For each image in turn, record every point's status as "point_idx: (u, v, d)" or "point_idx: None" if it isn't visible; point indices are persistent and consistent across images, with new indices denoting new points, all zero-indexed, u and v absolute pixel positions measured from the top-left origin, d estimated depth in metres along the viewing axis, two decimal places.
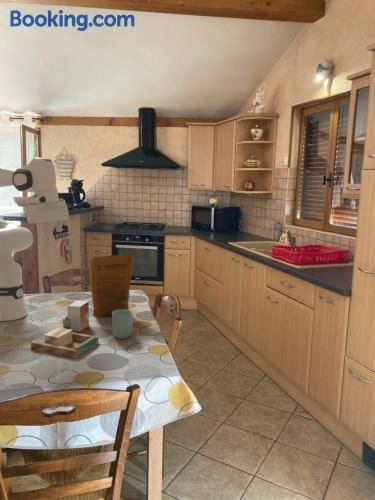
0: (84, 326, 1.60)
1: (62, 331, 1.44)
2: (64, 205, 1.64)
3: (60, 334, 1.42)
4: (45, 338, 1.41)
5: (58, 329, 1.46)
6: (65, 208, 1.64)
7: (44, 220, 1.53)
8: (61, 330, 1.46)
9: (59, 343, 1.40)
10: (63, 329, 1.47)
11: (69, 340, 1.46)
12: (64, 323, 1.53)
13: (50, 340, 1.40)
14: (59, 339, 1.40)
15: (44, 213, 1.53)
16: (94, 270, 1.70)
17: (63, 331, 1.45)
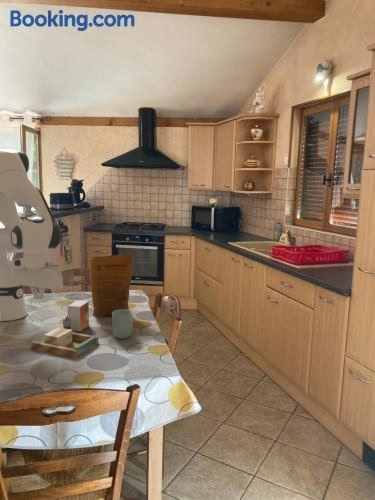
0: (84, 326, 1.60)
1: (62, 331, 1.44)
2: (51, 272, 1.39)
3: (60, 334, 1.42)
4: (45, 338, 1.41)
5: (58, 329, 1.46)
6: (52, 277, 1.39)
7: (24, 284, 1.44)
8: (61, 330, 1.46)
9: (59, 343, 1.40)
10: (63, 329, 1.47)
11: (69, 340, 1.46)
12: (64, 323, 1.53)
13: (50, 340, 1.40)
14: (59, 339, 1.40)
15: (25, 277, 1.43)
16: (94, 270, 1.70)
17: (63, 331, 1.45)
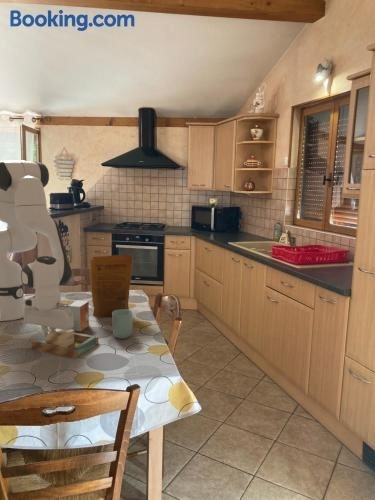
0: (84, 326, 1.60)
1: (64, 332, 1.44)
2: (62, 313, 1.39)
3: (62, 334, 1.41)
4: (47, 338, 1.41)
5: (60, 329, 1.46)
6: (63, 317, 1.39)
7: (35, 323, 1.45)
8: (63, 330, 1.46)
9: (61, 343, 1.40)
10: None
11: (71, 340, 1.45)
12: None
13: (52, 340, 1.40)
14: (61, 339, 1.40)
15: (35, 316, 1.44)
16: (94, 270, 1.70)
17: (65, 331, 1.45)
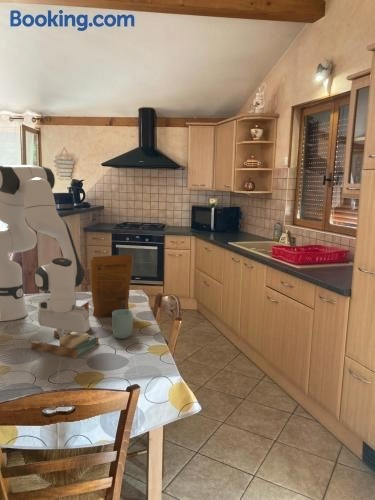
0: None
1: (78, 335, 1.41)
2: (78, 316, 1.37)
3: (75, 338, 1.38)
4: (60, 341, 1.38)
5: (75, 332, 1.43)
6: (79, 320, 1.37)
7: (50, 326, 1.42)
8: (77, 333, 1.43)
9: None
10: None
11: None
12: None
13: (65, 343, 1.37)
14: (74, 343, 1.37)
15: (50, 319, 1.42)
16: (94, 270, 1.70)
17: (79, 334, 1.41)
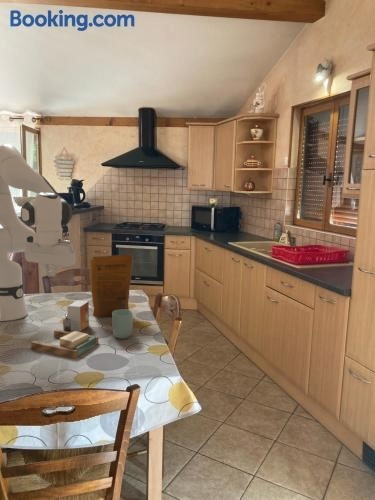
0: (84, 326, 1.60)
1: (78, 336, 1.41)
2: (63, 249, 1.37)
3: (75, 338, 1.38)
4: (60, 342, 1.38)
5: (74, 333, 1.43)
6: (65, 253, 1.37)
7: (36, 261, 1.42)
8: (77, 333, 1.43)
9: None
10: (79, 333, 1.44)
11: None
12: (64, 323, 1.53)
13: (65, 344, 1.37)
14: (74, 343, 1.37)
15: (37, 254, 1.42)
16: (94, 270, 1.70)
17: (78, 335, 1.42)
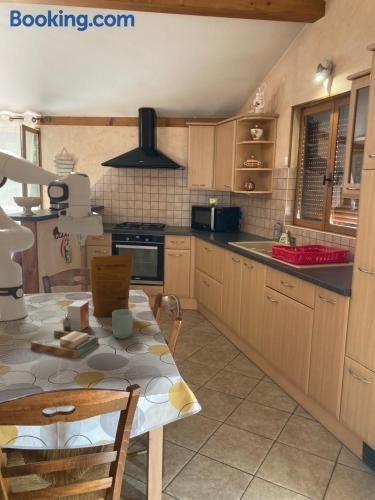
0: (84, 326, 1.60)
1: (78, 335, 1.41)
2: (93, 220, 1.59)
3: (76, 338, 1.39)
4: (61, 342, 1.38)
5: (74, 333, 1.43)
6: (94, 224, 1.59)
7: (68, 232, 1.64)
8: (77, 333, 1.43)
9: None
10: (79, 332, 1.44)
11: None
12: (64, 323, 1.53)
13: (66, 344, 1.37)
14: (75, 343, 1.37)
15: (69, 225, 1.63)
16: (94, 270, 1.70)
17: (78, 335, 1.42)
